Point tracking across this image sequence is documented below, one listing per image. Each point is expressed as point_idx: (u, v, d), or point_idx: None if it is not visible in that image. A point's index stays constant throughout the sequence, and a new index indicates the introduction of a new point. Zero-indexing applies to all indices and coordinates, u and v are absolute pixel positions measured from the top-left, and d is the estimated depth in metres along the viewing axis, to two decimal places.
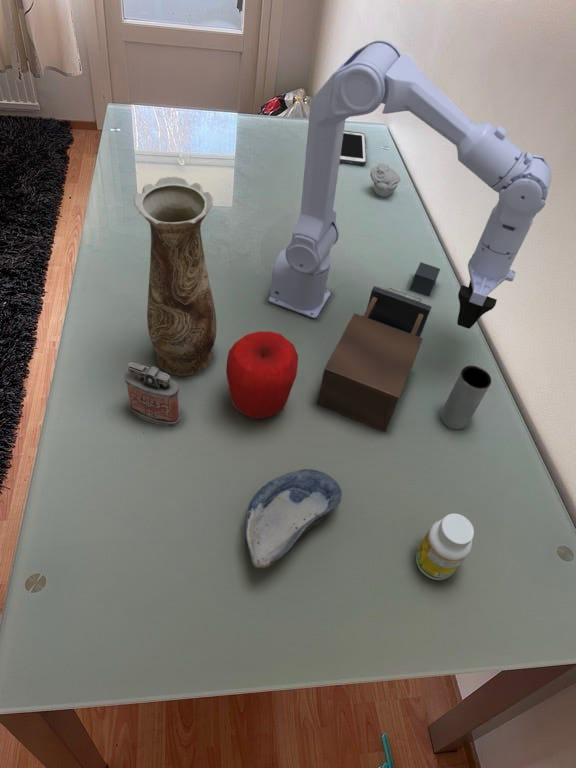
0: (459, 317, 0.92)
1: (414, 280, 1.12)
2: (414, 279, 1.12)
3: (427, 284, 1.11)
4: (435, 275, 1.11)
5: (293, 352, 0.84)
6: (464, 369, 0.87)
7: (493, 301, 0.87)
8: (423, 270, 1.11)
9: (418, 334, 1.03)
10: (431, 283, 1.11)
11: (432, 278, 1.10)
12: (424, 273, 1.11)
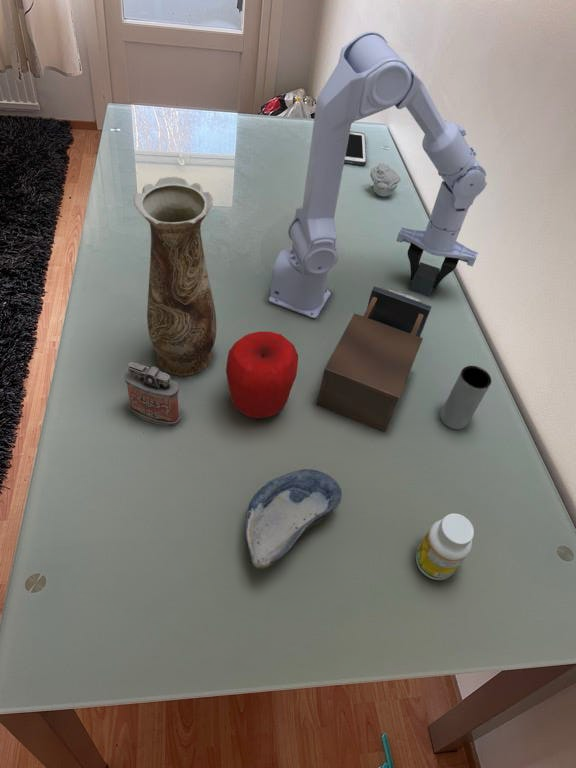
0: None
1: (414, 280, 1.12)
2: (414, 279, 1.12)
3: (427, 284, 1.11)
4: (435, 275, 1.11)
5: (293, 352, 0.84)
6: (464, 369, 0.87)
7: None
8: (423, 270, 1.11)
9: (418, 334, 1.03)
10: (431, 283, 1.11)
11: (432, 278, 1.10)
12: (424, 273, 1.11)
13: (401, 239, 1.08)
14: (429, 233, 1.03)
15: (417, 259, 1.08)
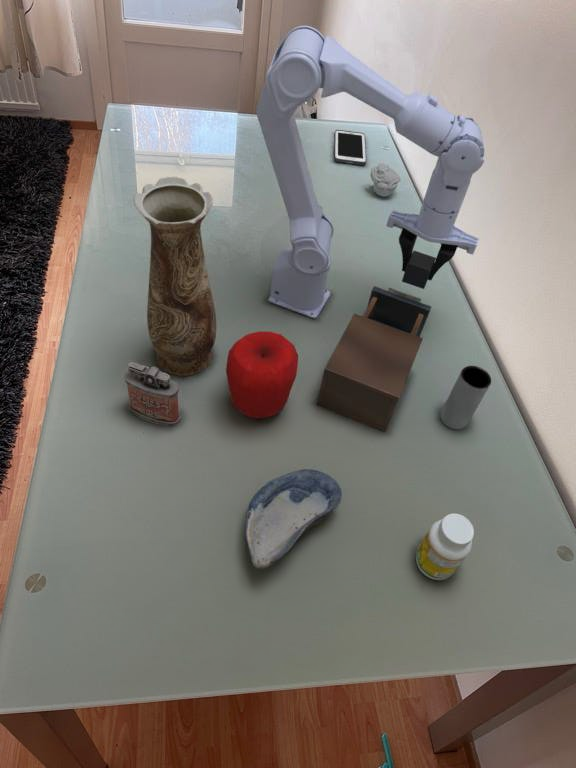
0: (434, 274, 0.98)
1: (406, 271, 0.99)
2: (406, 269, 0.99)
3: (422, 275, 0.98)
4: (430, 265, 0.98)
5: (293, 352, 0.84)
6: (464, 369, 0.87)
7: None
8: (417, 259, 0.99)
9: (418, 334, 1.03)
10: (426, 274, 0.98)
11: (427, 268, 0.97)
12: (417, 262, 0.98)
13: (391, 224, 0.95)
14: (424, 216, 0.90)
15: (410, 246, 0.95)
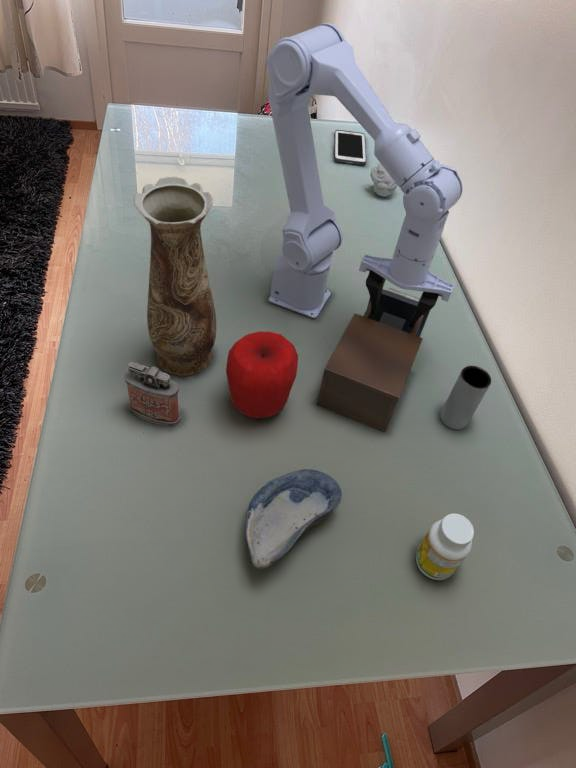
0: (416, 321, 0.94)
1: None
2: None
3: None
4: (399, 328, 0.98)
5: (293, 352, 0.84)
6: (464, 369, 0.87)
7: None
8: (386, 322, 0.98)
9: (418, 334, 1.03)
10: None
11: None
12: None
13: (364, 268, 0.92)
14: (396, 263, 0.87)
15: (377, 290, 0.92)
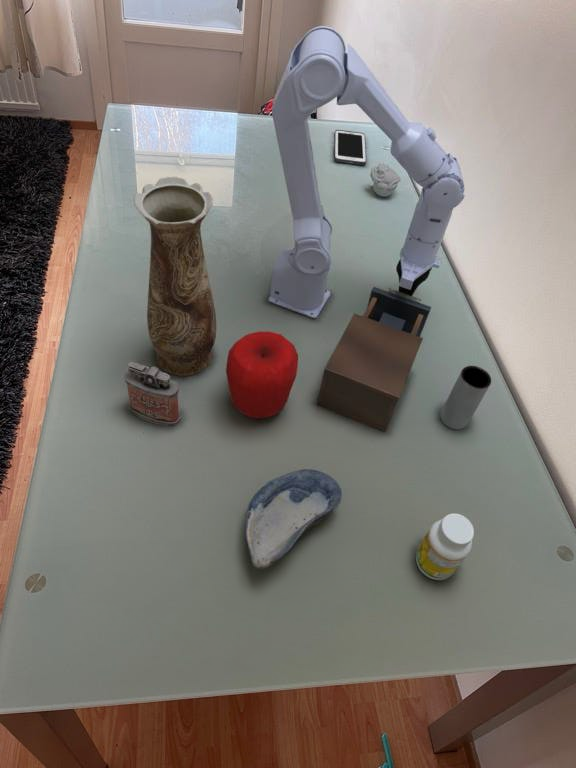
0: (399, 289, 1.05)
1: None
2: None
3: None
4: (399, 328, 0.97)
5: (293, 352, 0.84)
6: (464, 369, 0.87)
7: (426, 273, 1.00)
8: (386, 322, 0.98)
9: (418, 334, 1.03)
10: None
11: None
12: None
13: None
14: None
15: None
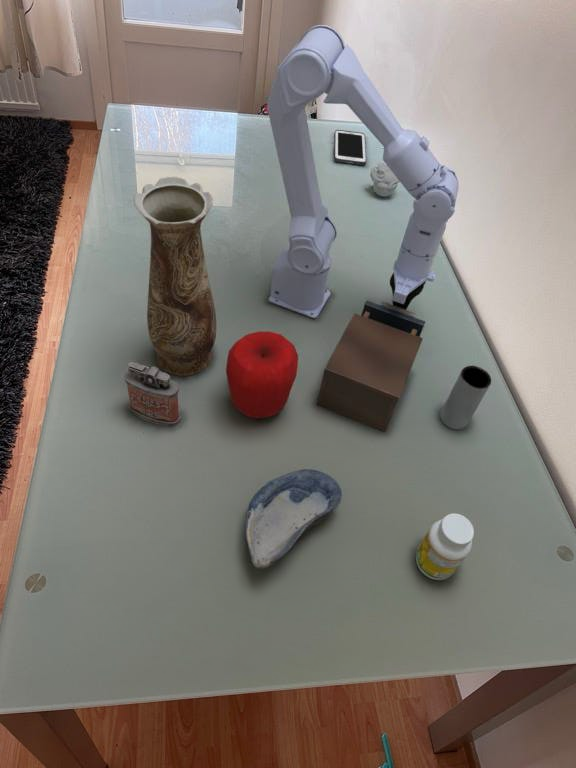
0: (393, 302, 1.02)
1: None
2: None
3: None
4: None
5: (293, 352, 0.84)
6: (464, 369, 0.87)
7: (420, 287, 0.97)
8: None
9: None
10: None
11: None
12: None
13: None
14: None
15: None
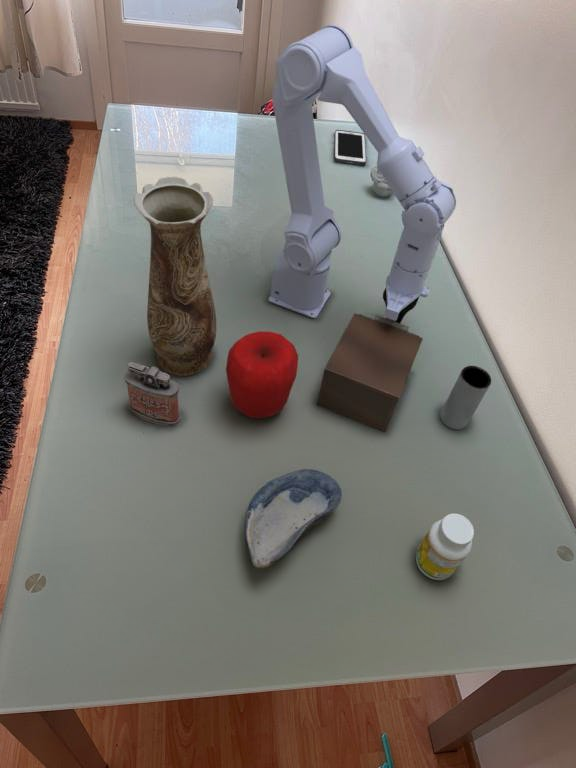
0: None
1: None
2: None
3: None
4: None
5: (293, 352, 0.84)
6: (464, 369, 0.87)
7: (414, 301, 0.95)
8: None
9: None
10: None
11: None
12: None
13: None
14: None
15: None
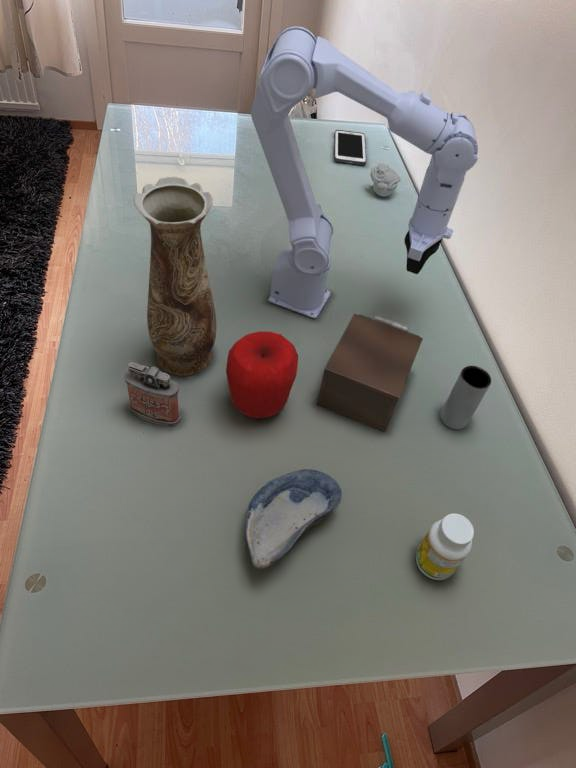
0: (407, 263, 0.99)
1: None
2: None
3: None
4: None
5: (293, 352, 0.84)
6: (464, 369, 0.87)
7: (436, 245, 0.94)
8: None
9: None
10: None
11: None
12: None
13: None
14: None
15: None
